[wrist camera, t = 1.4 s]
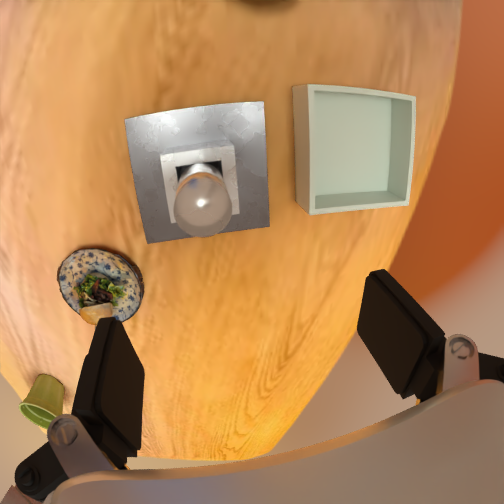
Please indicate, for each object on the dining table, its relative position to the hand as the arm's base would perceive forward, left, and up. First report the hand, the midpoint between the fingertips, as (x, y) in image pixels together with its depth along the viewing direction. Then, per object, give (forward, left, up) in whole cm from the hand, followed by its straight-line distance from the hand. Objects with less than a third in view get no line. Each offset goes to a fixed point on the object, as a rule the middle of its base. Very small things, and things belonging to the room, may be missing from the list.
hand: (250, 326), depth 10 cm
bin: (-3, +16, -23) cm, 28 cm away
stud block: (-1, -1, -23) cm, 23 cm away
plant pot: (+32, -37, -23) cm, 55 cm away
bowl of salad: (+11, -16, -23) cm, 31 cm away
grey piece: (-1, -1, -22) cm, 22 cm away
